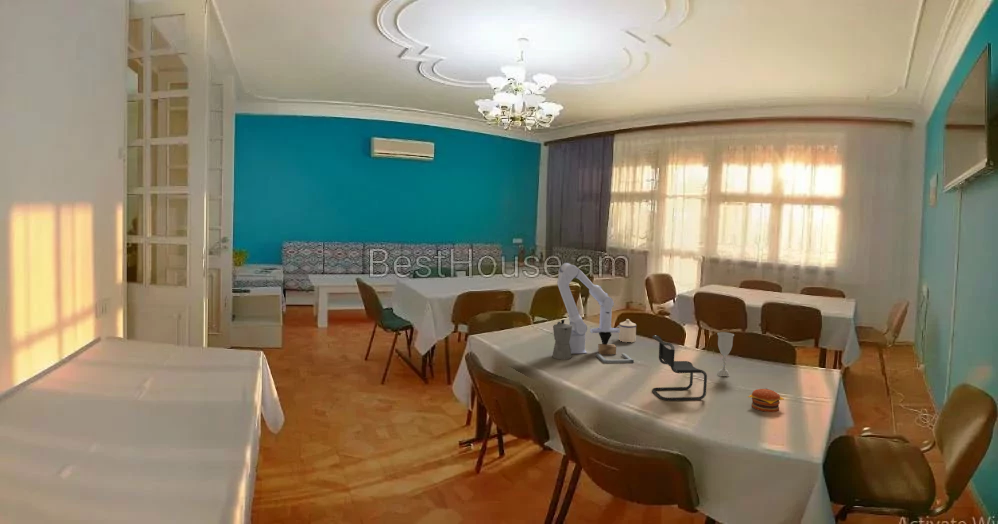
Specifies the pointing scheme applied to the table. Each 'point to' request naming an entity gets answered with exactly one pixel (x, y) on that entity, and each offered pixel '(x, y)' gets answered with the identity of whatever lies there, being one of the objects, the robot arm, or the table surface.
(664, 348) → the chair
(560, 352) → the coffeepot
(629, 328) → the teacup with lid
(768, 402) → the hamburger
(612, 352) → the walnut block
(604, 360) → the grey u-shaped bracket
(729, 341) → the chalice
